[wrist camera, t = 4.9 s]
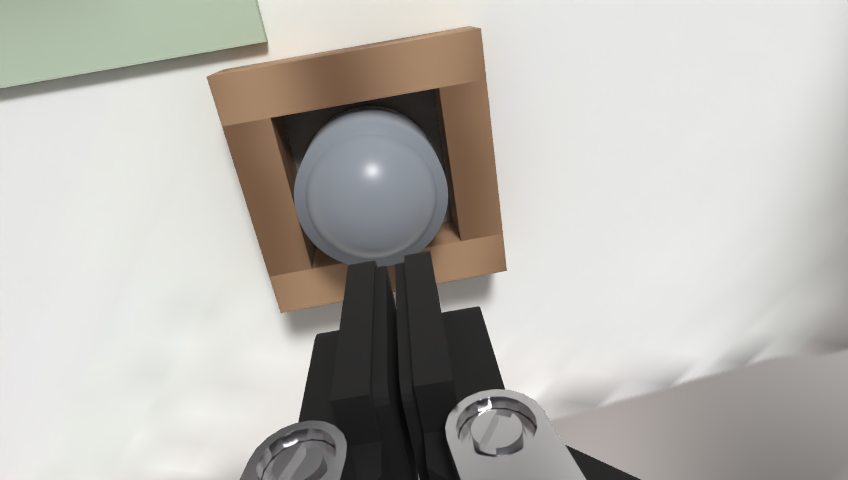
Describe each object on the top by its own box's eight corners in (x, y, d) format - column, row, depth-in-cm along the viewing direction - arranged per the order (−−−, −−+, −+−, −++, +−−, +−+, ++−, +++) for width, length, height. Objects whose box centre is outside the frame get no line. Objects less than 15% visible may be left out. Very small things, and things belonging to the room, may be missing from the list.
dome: (425, 93, 22) (441, 117, 17) (445, 219, 24) (464, 272, 19) (289, 118, 22) (267, 149, 17) (322, 242, 24) (310, 300, 19)
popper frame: (469, 26, 22) (480, 28, 19) (494, 248, 26) (506, 270, 23) (223, 69, 21) (206, 76, 19) (288, 286, 25) (281, 312, 23)
